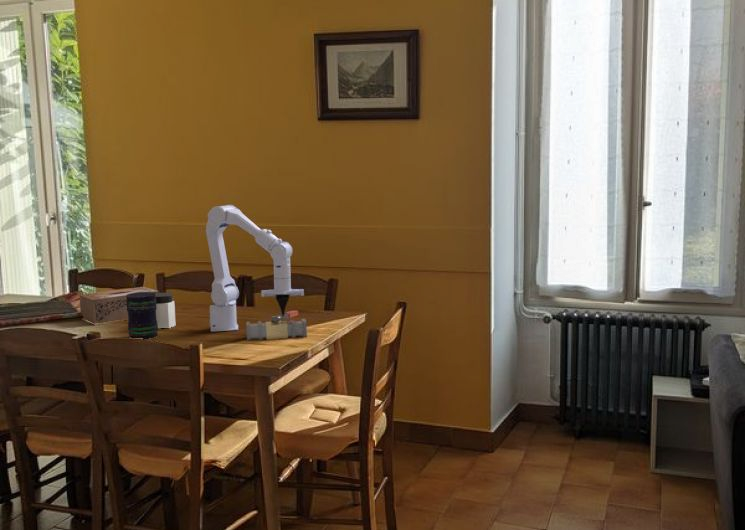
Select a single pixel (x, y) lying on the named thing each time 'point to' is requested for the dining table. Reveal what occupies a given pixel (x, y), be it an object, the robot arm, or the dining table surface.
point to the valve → (276, 329)
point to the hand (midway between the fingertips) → (283, 316)
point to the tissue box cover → (107, 304)
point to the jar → (165, 310)
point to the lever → (283, 316)
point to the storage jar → (142, 315)
